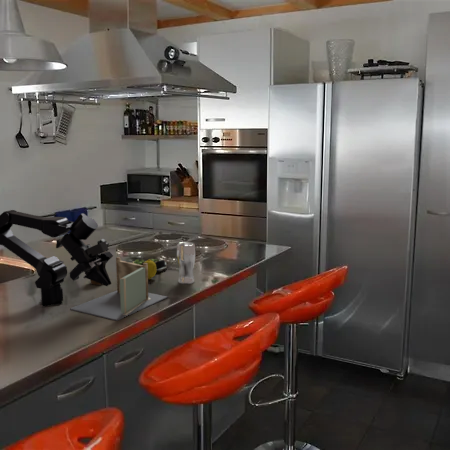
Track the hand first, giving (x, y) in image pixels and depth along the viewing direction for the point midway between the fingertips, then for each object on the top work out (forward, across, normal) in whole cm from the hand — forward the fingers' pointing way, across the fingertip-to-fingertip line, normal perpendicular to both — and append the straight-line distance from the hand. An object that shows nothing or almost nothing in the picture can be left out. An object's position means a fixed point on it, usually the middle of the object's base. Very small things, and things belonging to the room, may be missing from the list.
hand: (109, 284), depth 171 cm
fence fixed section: (+6, +14, +5) cm, 16 cm away
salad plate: (0, +50, +13) cm, 52 cm away
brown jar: (-7, +25, +19) cm, 32 cm away
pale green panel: (+10, +3, 0) cm, 11 cm away
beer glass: (+15, +36, -3) cm, 39 cm away
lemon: (+5, +35, +7) cm, 36 cm away
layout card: (+6, +6, +5) cm, 10 cm away
